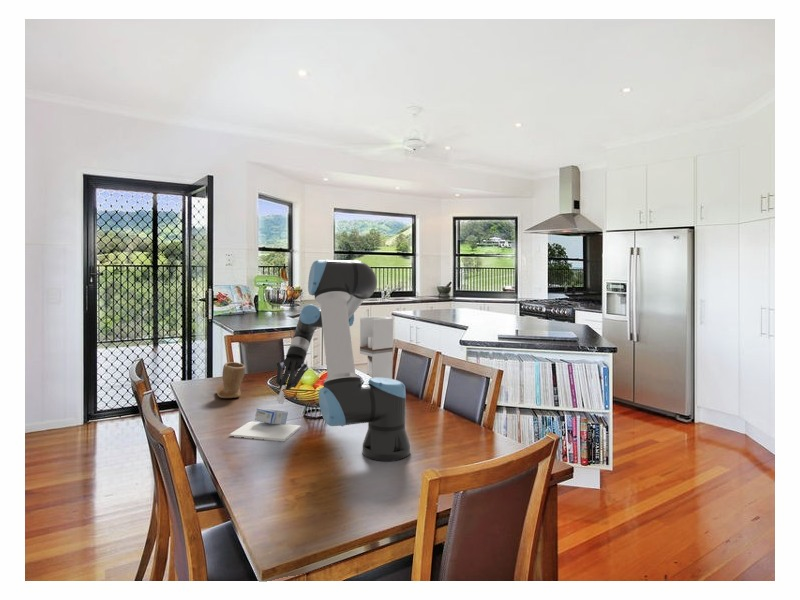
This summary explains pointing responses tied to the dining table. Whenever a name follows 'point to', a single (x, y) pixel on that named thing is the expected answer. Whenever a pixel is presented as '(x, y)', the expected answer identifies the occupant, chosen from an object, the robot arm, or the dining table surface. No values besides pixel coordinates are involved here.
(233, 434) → the cutting board
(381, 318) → the display case
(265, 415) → the medicine box
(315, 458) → the dining table surface
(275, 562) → the dining table surface
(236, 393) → the tan boot
